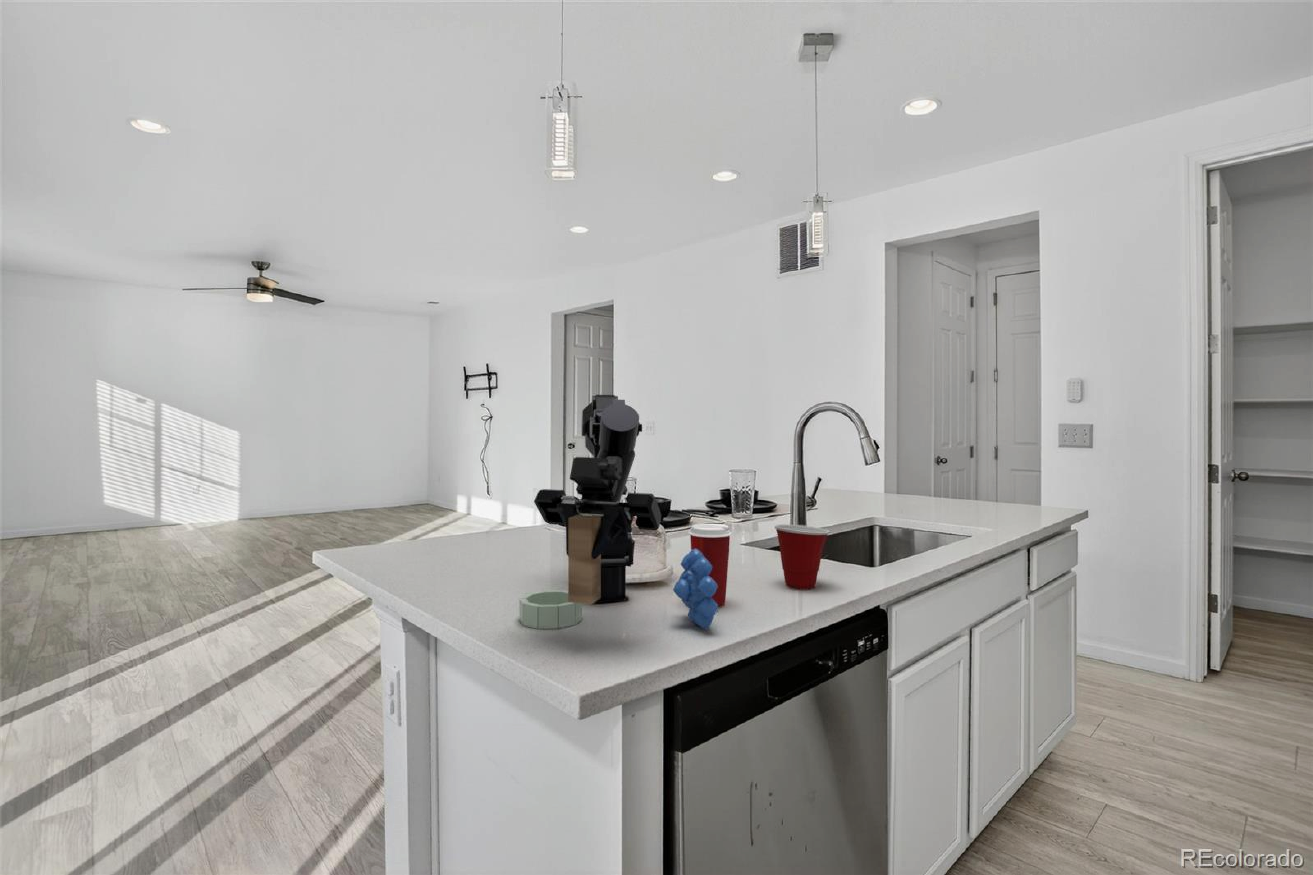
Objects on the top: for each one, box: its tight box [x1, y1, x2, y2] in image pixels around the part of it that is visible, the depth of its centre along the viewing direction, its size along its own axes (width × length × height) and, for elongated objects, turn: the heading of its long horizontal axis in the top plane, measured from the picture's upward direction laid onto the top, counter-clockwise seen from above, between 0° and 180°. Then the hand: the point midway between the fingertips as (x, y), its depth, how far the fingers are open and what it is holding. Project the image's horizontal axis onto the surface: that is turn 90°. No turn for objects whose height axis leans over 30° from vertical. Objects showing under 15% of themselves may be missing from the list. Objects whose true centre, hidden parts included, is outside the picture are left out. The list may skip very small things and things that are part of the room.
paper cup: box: [687, 523, 733, 609], centre depth 117 cm, size 8×8×14 cm
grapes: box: [672, 549, 719, 629], centre depth 105 cm, size 12×7×12 cm, turn 19°
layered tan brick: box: [567, 515, 601, 605], centre depth 94 cm, size 4×4×12 cm
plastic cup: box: [774, 523, 830, 591], centre depth 130 cm, size 11×11×12 cm
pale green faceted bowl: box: [518, 589, 583, 630], centre depth 108 cm, size 10×10×4 cm
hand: (580, 556), depth 93 cm, fingers closed on layered tan brick, 3 cm apart
